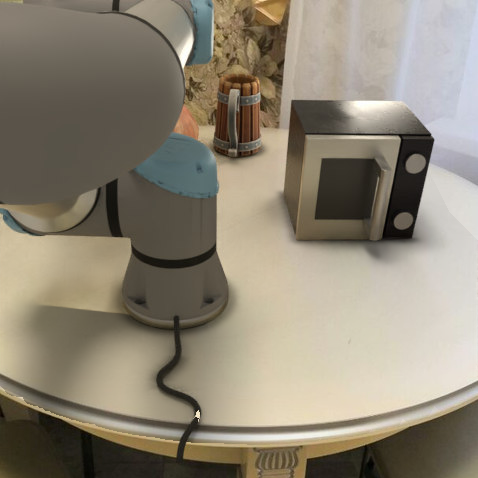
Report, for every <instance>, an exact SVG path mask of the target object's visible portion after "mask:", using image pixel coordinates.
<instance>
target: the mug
mask: <svg viewBox="0 0 478 478" xmlns="http://www.w3.org/2000/svg"><path fill="white" fill-rule="evenodd" d="M218 80H219V81H218V82H219V83H218V88H217V95H216V99H217V102H216V103H217V104H216V114H215V126H214V133H213V141H212V143H213V147H214V150H216V151H217V152H218V153H220V154H222V155H225V156H228V157H232V158H233V157H234V158H236V157H239V158H240V157H248V156H253V155H255V154H257V152H259V151H260V150H261V146H262V134H261V105H260V104H261V89H260V80H259V77H257V76H254V75H253V74H249V73H248V74H246V73H244V72H240V73H238V74H237V73H236V72H232V73H226V74H223V75H222V76H220V78H219V79H218Z"/></svg>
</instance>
